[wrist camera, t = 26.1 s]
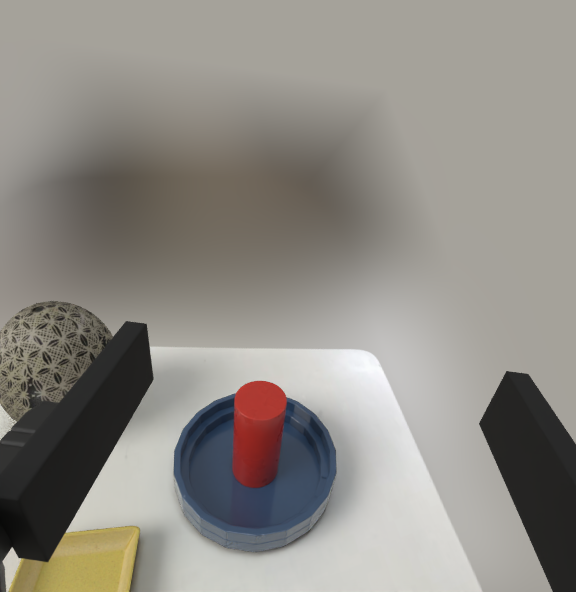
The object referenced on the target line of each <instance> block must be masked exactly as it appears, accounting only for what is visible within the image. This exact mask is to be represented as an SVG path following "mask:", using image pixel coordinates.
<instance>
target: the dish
mask: <svg viewBox="0 0 576 592" xmlns="http://www.w3.org/2000/svg"><path fill="white" fill-rule="evenodd" d="M235 395H236V394H232V395H229V396H227V397H224V398H221V399H218V400H216V401H214V402H212V403H211V404H209V405H208V406H206V407H205V408H203V409H202V410H200V411H199V412H198V413H196V415H195V416H194V417H193V418H192V419H191V420H190V422H189V423H188V424H187V425H186V426H185V428H184V429H183V431H182V433H181V436H180V438H179V441H178V443H177V446H176V448H175V451H174V481H175V490H176V493H177V496H178V499H179V502H180V505H181V508H182V510H183V513H184V515H185V516H186V517H187V518H188V519H189V521H190V522H191V523H192V524H193V525H194V526H195V528H196V529H197V530H198V531H199V532H200V533H201V534H202V535H203V536H205V537H207V538H209V539H211V540H213V541H215V542H216V543H218V544H220V545H222V546H224V547H227V548H230V549H237V550H244V551H251V552H259V551H264V550H268V549H273V548H278V547H283V546H285V545H287V544H288V543H290V542H292V541H293V540H295V539H297V538H298V537H300V536H302V535H303V534H305V533H306V532H308V531H309V530H310V529H311V527H312V526H313V525H314V524H315V522H316V521H317V520H318V519H319V517H320V516H321V515H322V514H323V512H324V511H325V508H326V505H327V502H328V499H329V496H330V494H331V491H332V487H333V483H334V480H335V476H336V450H335V447H334V445H333V442H332V440H331V437H330V435H329V432H328V430H327V429H326V427H325V426H324V425H323V424H322V422H321V421H320V420H319V419H318V417H317V416H316V415H315V414H314V413H313V412H312V411H310V410H309V409H307V408H306V407H305V406H303V405H302V404H300V403H299V402H297V401H295V400H292V399H290V398H287V397H286V398H287V405H286V413H285V420H284V428H283V435H282V443H281V450H280V458H279V465H278V471H277V475H276V476H275V478H274V479H273V481H272V482H270V483H269V484H268V485H266V486H263V487H260V488H250V487H247V486H244V485H242V484H241V483H240V482H239V481H238V480H237V479H236V478H235V476H234V474H233V469H232V465H233V433H234V402H235Z"/></svg>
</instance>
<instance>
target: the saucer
mask: <svg viewBox="0 0 576 592" xmlns="http://www.w3.org/2000/svg"><path fill="white" fill-rule="evenodd" d="M139 534H140V528H139V527H137V526H125V527H117V528H106V529H97V530H87V531H79V532H69V533H65V534H64V536H63V537H62V539H61V541H60V543H59V544H58V546H57V548H56V550H55V551H54V553H53V555H52V556H51V558H50V560H49V562H42V561H36V560H29V559H23V558H22V559H21V561H20V564H19V566H18V569H17V571H16V574H15V577H14V579H13V582H12V584H11V587H10V589H9V592H129V591H130V586H131V580H132V574H133V568H134V562H135V556H136V551H137V545H138V539H139Z"/></svg>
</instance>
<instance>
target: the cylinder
mask: <svg viewBox="0 0 576 592" xmlns="http://www.w3.org/2000/svg"><path fill="white" fill-rule="evenodd" d="M286 405H287V398H286V395H285V393H284V392H283V390H282V389H281V388H280V387H278V386H277V385H275V384H273V383H270V382H266V381H254V382H250V383H247V384H245V385H243V386H242V387H241V388H240V389H239V390H238V391H237V393H236V395H235V402H234V433H233V465H232V469H233V474H234V476H235V478H236V479H237V480H238V481H239V482H240V483H241V484H242V485H244V486H247V487H250V488H260V487H263V486H266V485H268V484H269V483H270V482H272V481H273V479H274V478H275V476H276V475H277V471H278V465H279V458H280V450H281V443H282V435H283V428H284V420H285V413H286Z"/></svg>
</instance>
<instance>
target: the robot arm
mask: <svg viewBox="0 0 576 592" xmlns="http://www.w3.org/2000/svg"><path fill="white" fill-rule="evenodd" d="M152 381H153V371H152V363H151V355H150V347H149V339H148V331H147V324H144V323H136V322H128V321H126V322H125V323H124V325H123V326H122V327H121V328H120V329H119V331H118V332H117V333H116V334H115V335H114V337H113V338H112V339H111V340H110V342H109V343H108V344H107V345H106V346H105V348H104V349H103V350H102V351H101V352H100V354H99V355H98V356H97V357H96V359H95V360H94V361H93V362H92V363H91V365H90V366H89V367H88V368H87V369H86V371H85V372H84V373H83V374H82V376H81V377H80V378H79V379H78V380H77V382H76V383H75V384H74V385H73V386H72V388H71V389H70V390H69V391H68V392H67V394H66V395H65V396H64V397H63V399H62V400H61V401H60V402H59V403H58V402H51V401H42V402H41V403H39V404H38V405H36V406H35V407H33V408H32V409H30V410H29V411H27V412H26V413H25V414H24V415H23V416H22V417H21V418H20V419H19V420H18V422H17V423H16V424H15V425H14V426H13V427H12V429H11V431H9V432H8V433H7V434H6V435H5V436H4V437H3V438H2V439H1V440H0V592H6V584H5V568H4V565H3V562H2V561H3V560H4V558H5V557H6V555H7V554H8V552H9V551H10V549H11V548H12V547H13V549H14V550H15V552H16V554H17V556H18V558H23V559H29V560H36V561H42V562H49V560H50V558H51V556H52V555H53V553H54V551H55V550H56V548H57V546H58V544H59V543H60V541H61V539H62V537H63V536H64V534H65V532H66V530H67V529H68V527H69V525H70V523H71V522H72V520H73V518H74V517H75V515H76V513H77V511H78V510H79V508H80V506H81V504H82V503H83V501H84V499H85V497H86V496H87V494H88V492H89V490H90V489H91V487H92V485H93V484H94V482H95V480H96V478H97V477H98V475H99V473H100V471H101V470H102V468H103V466H104V464H105V463H106V461H107V459H108V457H109V456H110V454H111V452H112V451H113V449H114V447H115V445H116V444H117V442H118V440H119V438H120V437H121V435H122V433H123V431H124V430H125V428H126V426H127V424H128V423H129V421H130V419H131V417H132V416H133V414H134V412H135V411H136V409H137V407H138V405H139V404H140V402H141V400H142V398H143V397H144V395H145V393H146V391H147V390H148V388H149V386H150V384H151V383H152ZM479 425H480V427H481V429H482V431H483V433H484V436H485V438H486V440H487V443H488V445H489V447H490V450H491V452H492V454H493V456H494V459H495V461H496V463H497V466H498V468H499V470H500V472H501V475H502V477H503V479H504V481H505V484H506V486H507V488H508V491H509V493H510V495H511V497H512V500H513V502H514V504H515V507H516V509H517V511H518V513H519V516H520V518H521V520H522V523H523V525H524V527H525V529H526V532H527V534H528V536H529V538H530V541H531V543H532V545H533V547H534V550H535V552H536V554H537V557H538V559H539V561H540V564H541V566H542V568H543V570H544V573H545V575H546V577H547V579H548V582H549V584H550V586H551V589H552V591H553V592H576V444H575V443H574V441H573V439H572V438H571V436H570V435H569V433H568V432H567V431H566V429H565V428H564V426H563V425H562V423H561V422H560V420H559V419H558V417H557V416H556V414H555V413H554V411H553V410H552V409H551V407H550V405H549V404H548V402H547V401H546V400H545V398H544V397H543V395H542V394H541V392H540V391H539V389H538V388H537V386H536V385H535V383H534V382H533V380H532V379H531V377H530V376H529V375H528V374H524V373H516V372H509V371H506V373H505V375H504V377H503V379H502V381H501V383H500V385H499V387H498V388H497V390H496V392H495V394H494V396H493V398H492V400H491V402H490V404H489V406H488V407H487V409H486V412H485V414H484V415H483V417H482V419H481V421H480V423H479Z"/></svg>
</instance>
